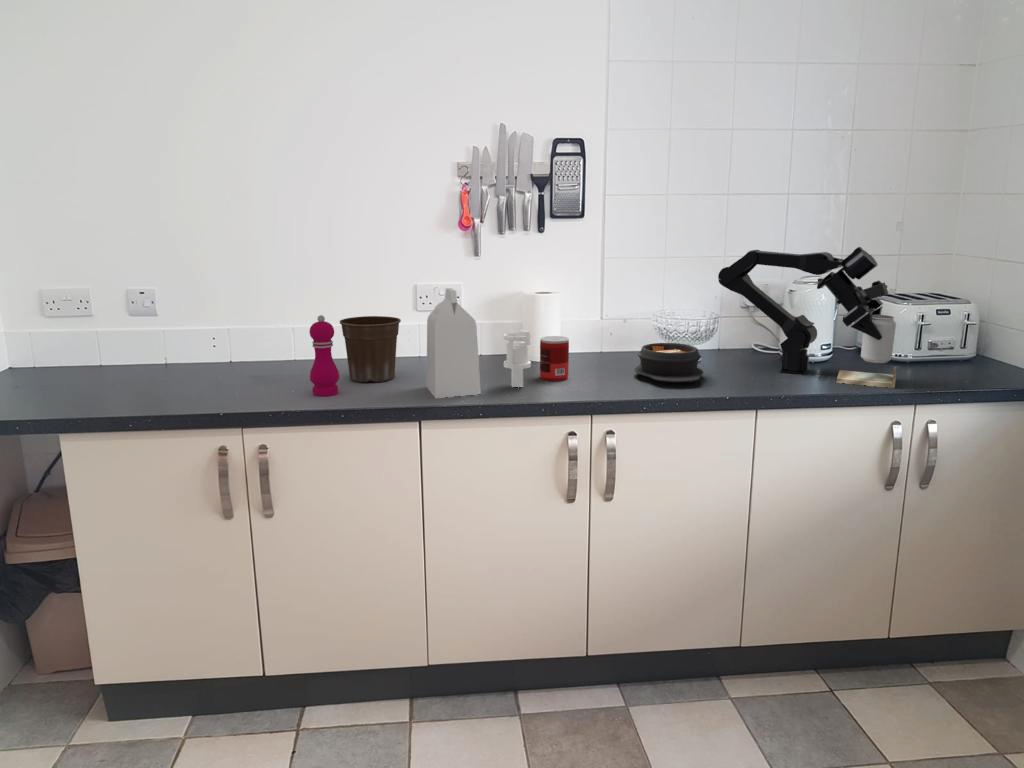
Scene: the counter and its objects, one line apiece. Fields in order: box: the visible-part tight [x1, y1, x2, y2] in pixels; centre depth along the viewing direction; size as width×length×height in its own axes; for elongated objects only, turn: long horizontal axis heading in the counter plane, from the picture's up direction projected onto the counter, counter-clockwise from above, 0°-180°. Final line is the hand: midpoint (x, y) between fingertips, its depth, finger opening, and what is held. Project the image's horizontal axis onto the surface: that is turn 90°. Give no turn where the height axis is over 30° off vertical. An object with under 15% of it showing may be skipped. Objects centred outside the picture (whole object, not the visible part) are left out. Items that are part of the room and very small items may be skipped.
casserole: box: [634, 342, 704, 383], centre depth 216 cm, size 25×19×8 cm
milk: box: [426, 287, 482, 399], centre depth 200 cm, size 12×12×26 cm
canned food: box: [539, 335, 570, 382], centre depth 216 cm, size 8×8×11 cm
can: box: [860, 314, 897, 364], centre depth 209 cm, size 8×8×12 cm
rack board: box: [835, 367, 897, 389], centre depth 212 cm, size 14×11×3 cm
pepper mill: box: [309, 314, 340, 397], centre depth 199 cm, size 7×7×20 cm
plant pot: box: [339, 315, 402, 383], centre depth 216 cm, size 16×16×16 cm
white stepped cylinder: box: [503, 329, 532, 389], centre depth 206 cm, size 7×7×15 cm
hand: (884, 336), depth 208 cm, fingers closed on can, 7 cm apart
